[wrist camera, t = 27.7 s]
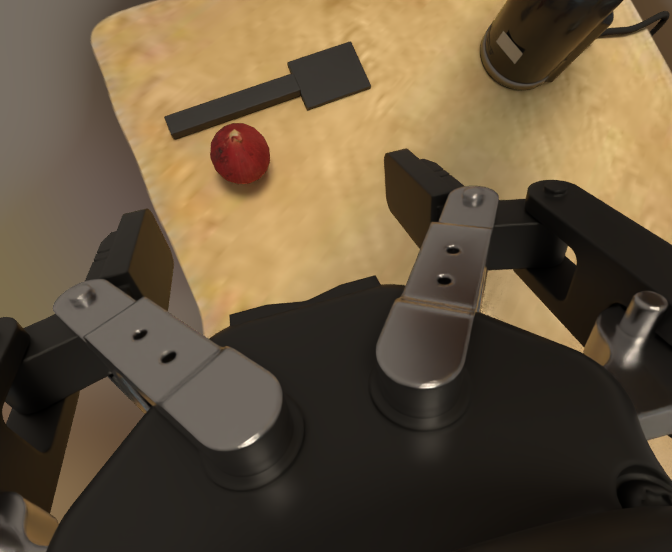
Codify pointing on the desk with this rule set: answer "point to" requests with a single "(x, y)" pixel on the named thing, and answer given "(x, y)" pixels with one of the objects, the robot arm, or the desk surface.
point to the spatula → (281, 90)
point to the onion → (240, 153)
